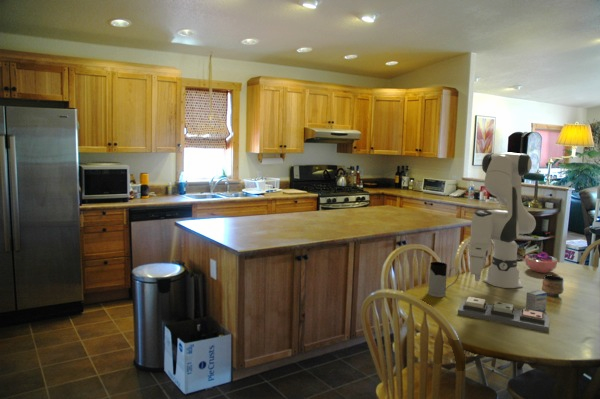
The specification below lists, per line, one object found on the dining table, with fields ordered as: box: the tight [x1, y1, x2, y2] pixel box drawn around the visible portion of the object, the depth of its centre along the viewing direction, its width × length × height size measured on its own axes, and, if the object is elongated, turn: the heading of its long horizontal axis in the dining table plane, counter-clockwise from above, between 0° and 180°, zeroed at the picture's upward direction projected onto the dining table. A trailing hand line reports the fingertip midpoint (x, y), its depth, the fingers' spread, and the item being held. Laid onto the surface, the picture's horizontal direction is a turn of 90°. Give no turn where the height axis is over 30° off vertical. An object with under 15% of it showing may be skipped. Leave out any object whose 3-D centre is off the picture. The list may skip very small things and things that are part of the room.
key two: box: [493, 300, 514, 314], centre depth 188 cm, size 7×7×2 cm
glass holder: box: [427, 261, 460, 298], centre depth 215 cm, size 9×14×15 cm, turn 84°
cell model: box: [524, 251, 558, 274], centre depth 259 cm, size 17×20×11 cm
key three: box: [522, 308, 543, 319], centre depth 183 cm, size 7×7×2 cm
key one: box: [466, 296, 486, 308], centre depth 193 cm, size 7×7×2 cm
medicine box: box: [525, 289, 548, 313], centre depth 196 cm, size 8×4×9 cm, turn 117°
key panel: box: [457, 298, 550, 333], centre depth 188 cm, size 14×34×4 cm, turn 61°
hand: (477, 280), depth 191 cm, fingers closed
